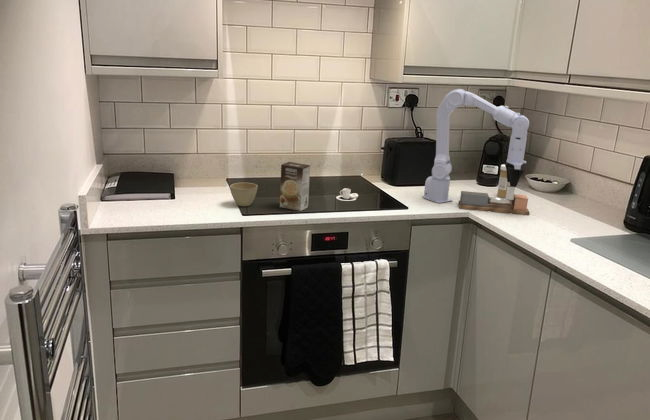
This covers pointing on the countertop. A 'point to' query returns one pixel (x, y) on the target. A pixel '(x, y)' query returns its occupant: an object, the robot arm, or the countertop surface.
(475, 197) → the sleeve
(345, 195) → the teacup and saucer
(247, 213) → the countertop surface
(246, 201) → the bowl
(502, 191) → the sprinkles bottle
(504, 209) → the walnut board
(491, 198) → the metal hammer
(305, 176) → the coffee box
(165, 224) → the countertop surface
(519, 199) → the socket
